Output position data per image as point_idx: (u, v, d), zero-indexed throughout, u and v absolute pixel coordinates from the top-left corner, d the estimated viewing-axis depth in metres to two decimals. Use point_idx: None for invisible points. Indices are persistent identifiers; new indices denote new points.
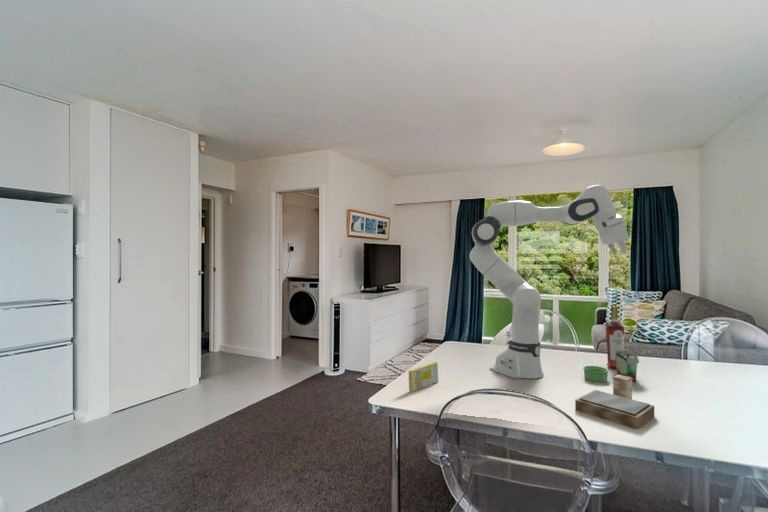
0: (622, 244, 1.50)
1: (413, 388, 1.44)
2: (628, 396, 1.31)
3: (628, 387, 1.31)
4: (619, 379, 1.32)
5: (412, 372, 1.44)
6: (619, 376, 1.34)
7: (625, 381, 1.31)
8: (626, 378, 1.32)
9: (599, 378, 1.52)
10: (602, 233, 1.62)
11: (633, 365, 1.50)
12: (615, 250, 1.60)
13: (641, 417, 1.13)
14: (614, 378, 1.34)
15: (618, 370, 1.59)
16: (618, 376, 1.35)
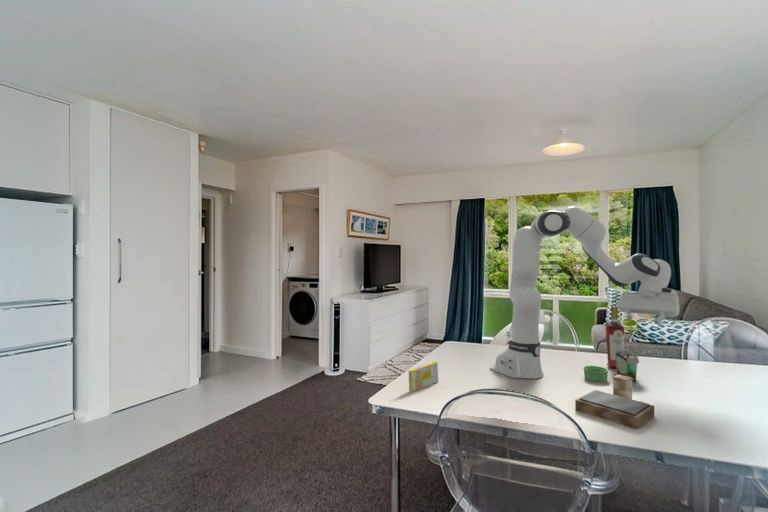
0: (664, 315, 1.42)
1: (413, 388, 1.44)
2: (628, 396, 1.31)
3: (628, 387, 1.31)
4: (619, 379, 1.32)
5: (412, 372, 1.44)
6: (619, 376, 1.34)
7: (625, 381, 1.31)
8: (626, 378, 1.32)
9: (599, 378, 1.52)
10: (630, 298, 1.53)
11: (633, 365, 1.50)
12: (631, 318, 1.49)
13: (641, 417, 1.13)
14: (614, 378, 1.34)
15: (618, 370, 1.59)
16: (618, 376, 1.35)
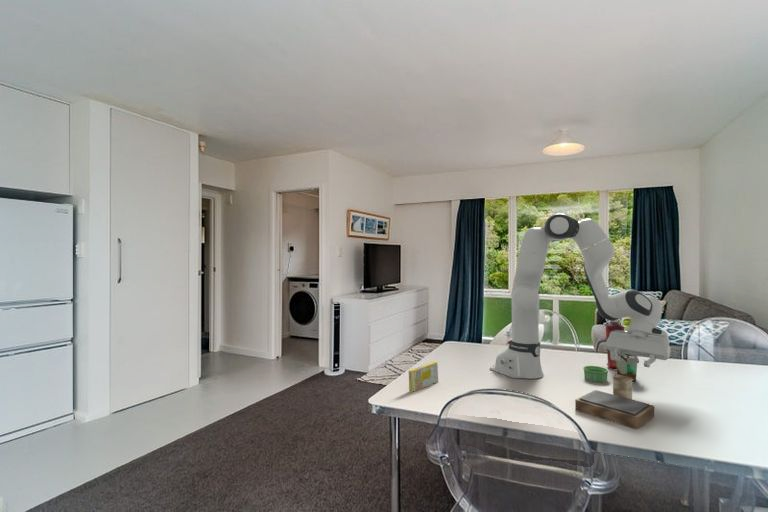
0: (654, 358, 1.35)
1: (413, 388, 1.44)
2: (628, 396, 1.31)
3: (628, 387, 1.31)
4: (619, 379, 1.32)
5: (412, 372, 1.44)
6: (619, 376, 1.34)
7: (625, 381, 1.31)
8: (626, 378, 1.32)
9: (599, 378, 1.52)
10: (620, 337, 1.47)
11: (633, 365, 1.50)
12: (620, 359, 1.43)
13: (641, 417, 1.13)
14: (614, 378, 1.34)
15: (618, 370, 1.59)
16: (618, 376, 1.34)
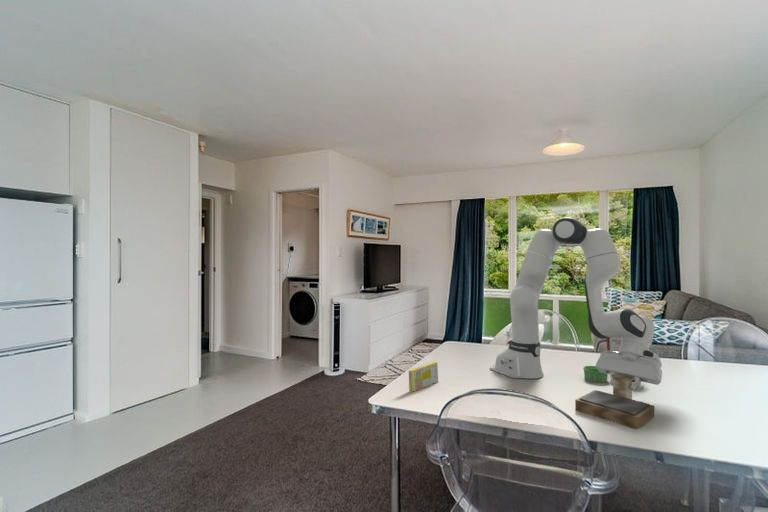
0: (639, 381, 1.31)
1: (413, 388, 1.44)
2: (628, 396, 1.31)
3: None
4: (619, 379, 1.32)
5: (412, 372, 1.44)
6: (619, 376, 1.34)
7: (625, 381, 1.31)
8: (626, 378, 1.32)
9: (599, 378, 1.52)
10: (610, 359, 1.41)
11: None
12: None
13: (641, 417, 1.13)
14: (614, 378, 1.34)
15: None
16: (618, 376, 1.34)
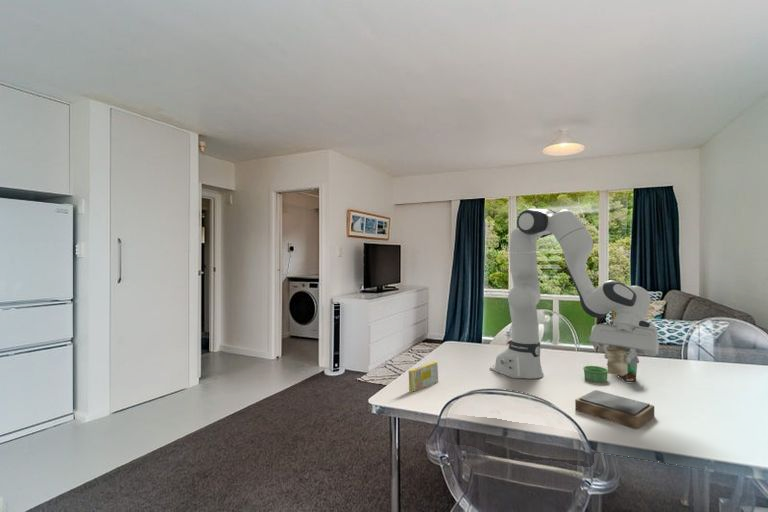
0: (635, 353, 1.24)
1: (413, 388, 1.44)
2: (623, 369, 1.24)
3: (623, 360, 1.24)
4: (614, 351, 1.25)
5: (412, 372, 1.44)
6: (614, 348, 1.27)
7: (620, 353, 1.23)
8: (621, 350, 1.25)
9: (599, 378, 1.52)
10: (604, 331, 1.34)
11: (633, 365, 1.50)
12: None
13: (641, 417, 1.13)
14: (608, 350, 1.26)
15: None
16: (613, 348, 1.27)
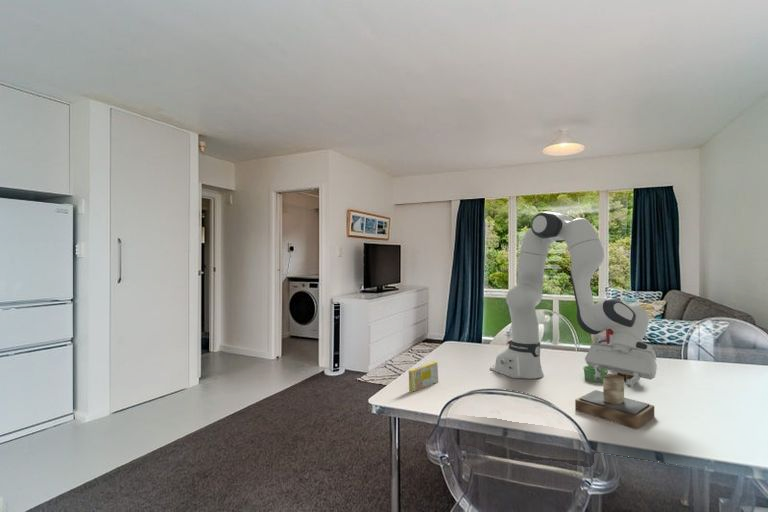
0: (638, 377, 1.18)
1: (413, 388, 1.44)
2: (619, 397, 1.20)
3: (619, 388, 1.20)
4: (610, 378, 1.21)
5: (412, 372, 1.44)
6: (610, 375, 1.23)
7: (616, 381, 1.20)
8: (617, 377, 1.21)
9: None
10: (601, 351, 1.30)
11: None
12: (600, 376, 1.26)
13: (641, 417, 1.13)
14: (604, 377, 1.22)
15: None
16: (609, 375, 1.23)
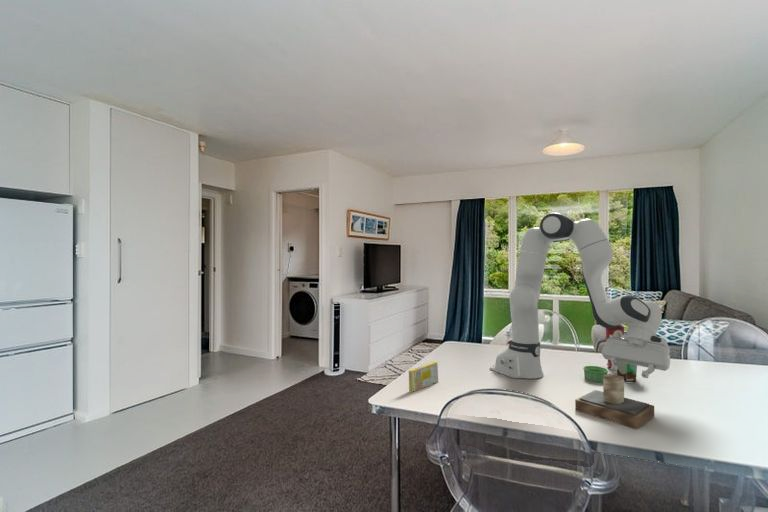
0: (653, 368, 1.26)
1: (413, 388, 1.44)
2: (619, 397, 1.20)
3: (619, 388, 1.20)
4: (610, 378, 1.21)
5: (412, 372, 1.44)
6: (610, 375, 1.23)
7: (616, 381, 1.20)
8: (617, 377, 1.21)
9: (599, 378, 1.52)
10: (616, 345, 1.38)
11: (633, 365, 1.50)
12: (616, 368, 1.34)
13: (641, 417, 1.13)
14: (604, 377, 1.22)
15: (618, 370, 1.59)
16: (609, 375, 1.23)
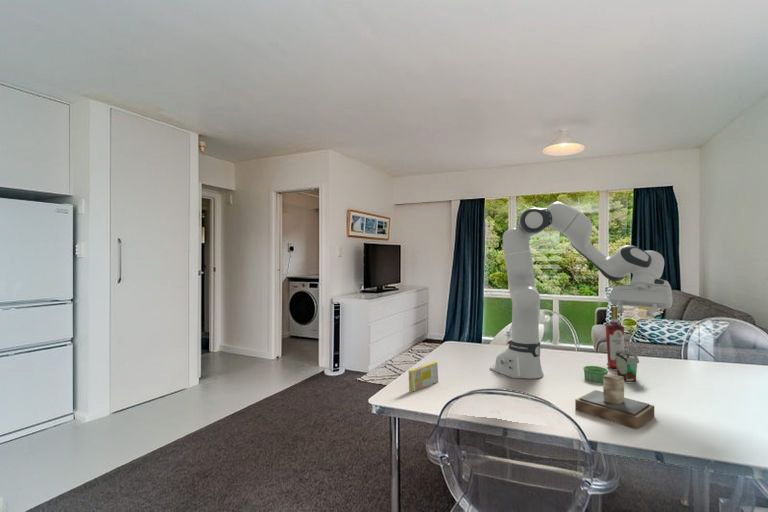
0: (657, 307, 1.37)
1: (413, 388, 1.44)
2: (619, 397, 1.20)
3: (619, 388, 1.20)
4: (610, 378, 1.21)
5: (412, 372, 1.44)
6: (610, 375, 1.23)
7: (616, 381, 1.20)
8: (617, 377, 1.21)
9: (599, 378, 1.52)
10: (622, 290, 1.49)
11: (633, 365, 1.50)
12: (622, 310, 1.45)
13: (641, 417, 1.13)
14: (604, 377, 1.22)
15: (618, 370, 1.59)
16: (609, 375, 1.23)
